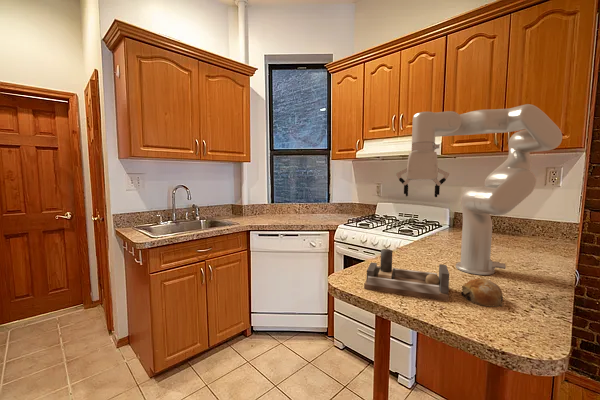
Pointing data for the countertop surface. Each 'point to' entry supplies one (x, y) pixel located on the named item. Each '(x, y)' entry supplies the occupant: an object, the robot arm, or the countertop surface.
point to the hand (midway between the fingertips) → (421, 196)
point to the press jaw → (386, 265)
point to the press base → (411, 282)
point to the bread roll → (483, 293)
